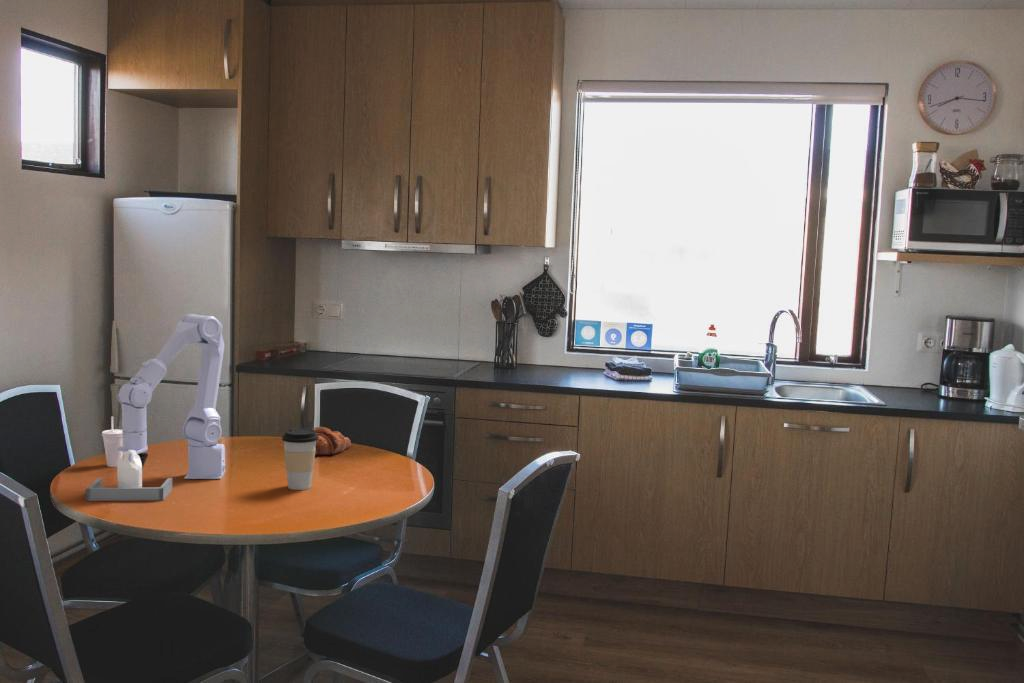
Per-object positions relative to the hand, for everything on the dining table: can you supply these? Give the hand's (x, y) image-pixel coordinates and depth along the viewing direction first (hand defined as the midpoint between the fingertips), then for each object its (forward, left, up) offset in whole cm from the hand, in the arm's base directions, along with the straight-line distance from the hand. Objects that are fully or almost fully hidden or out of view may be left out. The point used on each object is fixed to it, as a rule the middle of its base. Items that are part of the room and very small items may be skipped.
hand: (135, 482), depth 231 cm
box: (0, +4, -2) cm, 5 cm away
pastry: (-45, -43, -2) cm, 62 cm away
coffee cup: (-41, -2, -2) cm, 41 cm away
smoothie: (+12, -26, -2) cm, 29 cm away
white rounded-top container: (0, +3, -1) cm, 3 cm away
